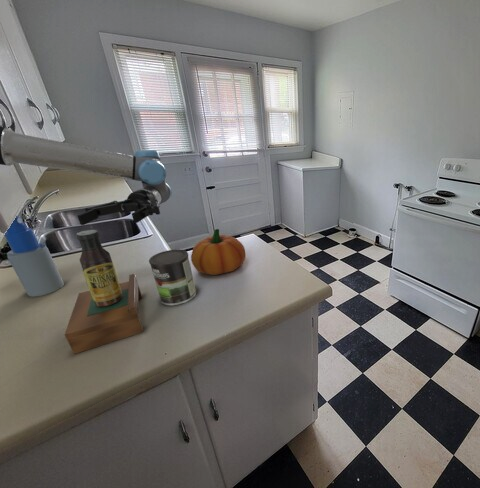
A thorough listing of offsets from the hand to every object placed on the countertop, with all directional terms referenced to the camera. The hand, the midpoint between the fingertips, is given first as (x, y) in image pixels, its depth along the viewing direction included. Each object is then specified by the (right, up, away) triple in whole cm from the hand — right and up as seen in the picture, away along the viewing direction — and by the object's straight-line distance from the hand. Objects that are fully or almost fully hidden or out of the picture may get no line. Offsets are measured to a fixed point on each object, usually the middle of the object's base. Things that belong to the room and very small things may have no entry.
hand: (107, 219), depth 74 cm
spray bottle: (-34, -22, +16) cm, 43 cm away
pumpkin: (+20, -16, +30) cm, 39 cm away
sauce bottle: (+1, -22, -1) cm, 22 cm away
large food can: (+13, -24, +12) cm, 30 cm away
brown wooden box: (+1, -28, +1) cm, 28 cm away
